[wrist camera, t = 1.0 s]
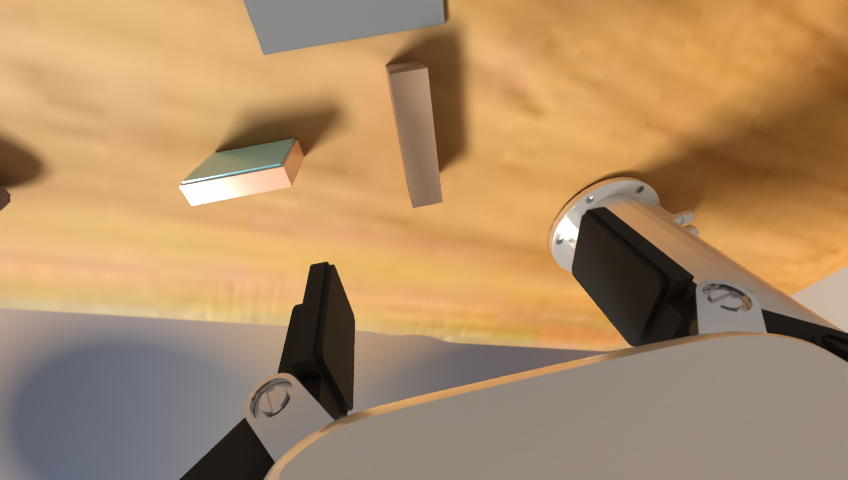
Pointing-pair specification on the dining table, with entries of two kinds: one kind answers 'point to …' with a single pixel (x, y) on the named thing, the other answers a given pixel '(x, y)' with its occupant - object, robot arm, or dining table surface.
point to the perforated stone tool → (4, 198)
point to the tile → (244, 172)
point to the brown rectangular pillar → (415, 130)
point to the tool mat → (336, 20)
